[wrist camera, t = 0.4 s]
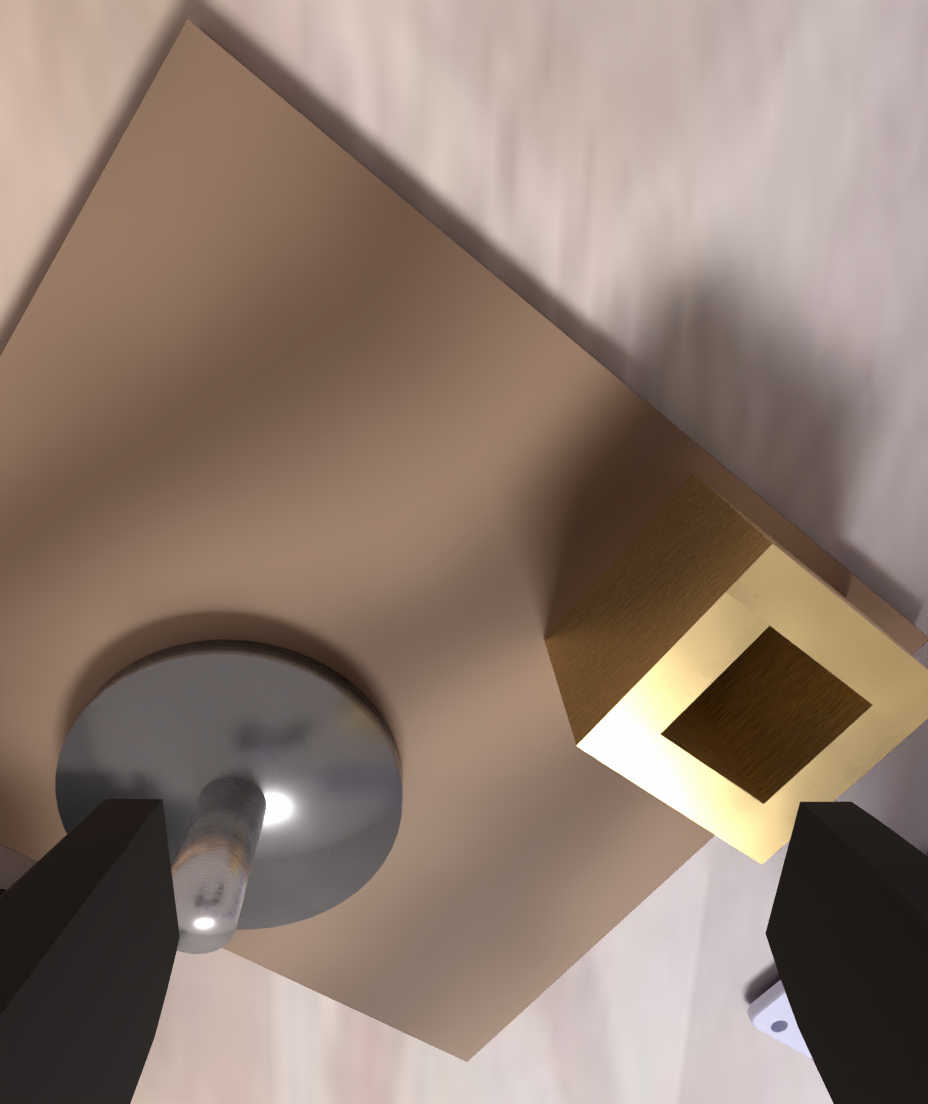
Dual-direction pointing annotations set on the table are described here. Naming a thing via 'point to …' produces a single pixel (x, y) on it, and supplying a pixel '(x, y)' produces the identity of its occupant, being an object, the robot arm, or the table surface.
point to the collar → (730, 674)
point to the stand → (242, 780)
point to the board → (340, 531)
